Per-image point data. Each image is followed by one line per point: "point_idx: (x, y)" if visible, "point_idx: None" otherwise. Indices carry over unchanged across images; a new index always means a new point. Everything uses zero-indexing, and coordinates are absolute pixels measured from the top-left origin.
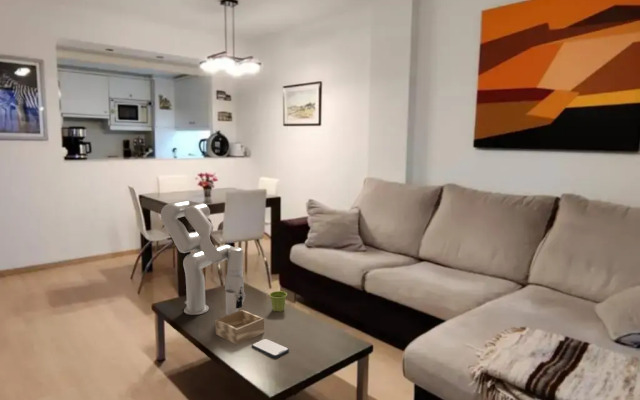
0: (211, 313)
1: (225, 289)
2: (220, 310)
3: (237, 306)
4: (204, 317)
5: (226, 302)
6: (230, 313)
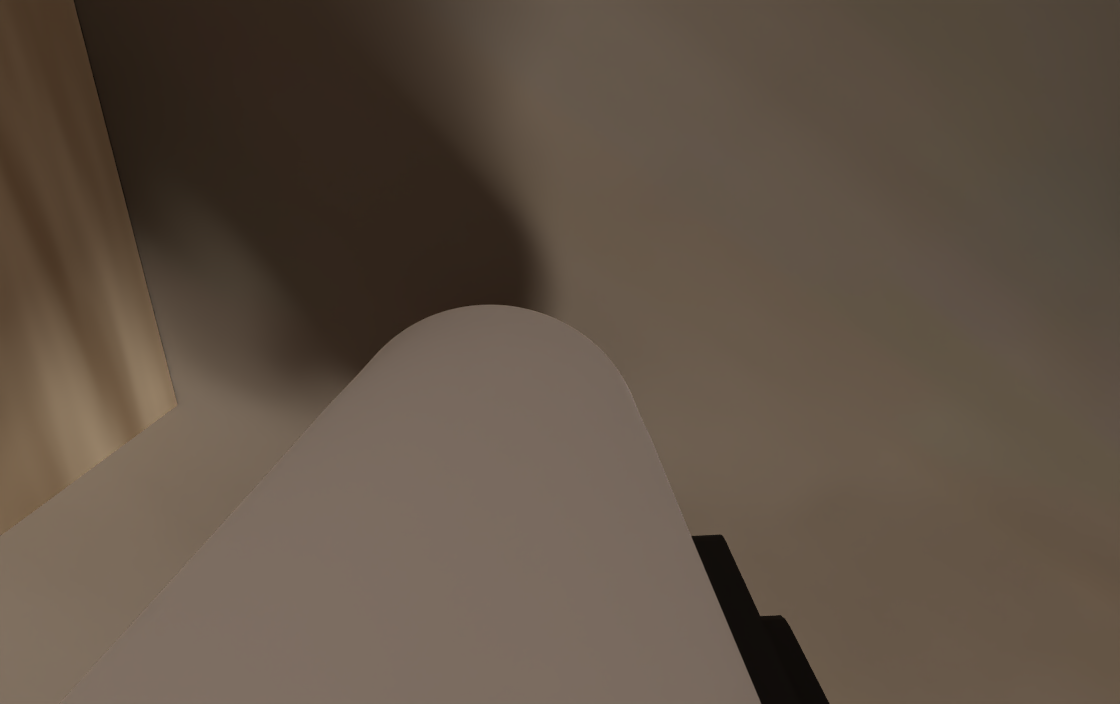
0: (1010, 244)
1: None
2: (962, 437)
3: None
4: (992, 14)
5: (486, 446)
6: (383, 350)
